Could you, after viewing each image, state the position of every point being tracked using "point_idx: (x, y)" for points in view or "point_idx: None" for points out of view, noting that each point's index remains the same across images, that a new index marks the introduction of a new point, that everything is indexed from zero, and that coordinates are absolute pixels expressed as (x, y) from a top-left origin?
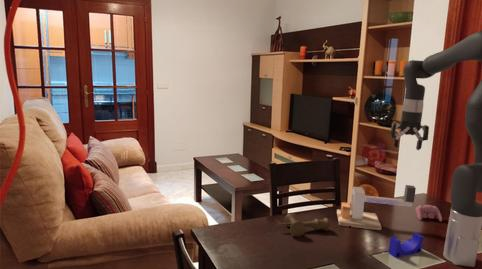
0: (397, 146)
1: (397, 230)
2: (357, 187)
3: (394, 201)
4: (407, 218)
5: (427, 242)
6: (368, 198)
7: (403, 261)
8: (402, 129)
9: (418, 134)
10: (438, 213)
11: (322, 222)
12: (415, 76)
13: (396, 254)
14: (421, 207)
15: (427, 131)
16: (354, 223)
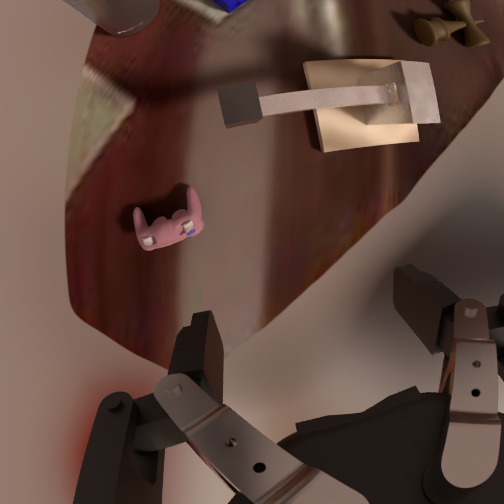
0: (407, 270)
1: (259, 81)
2: (427, 117)
3: (290, 92)
4: (227, 184)
5: (185, 48)
6: (378, 86)
7: None
8: (499, 415)
9: (220, 439)
10: (140, 223)
11: (434, 22)
12: None
13: None
14: (186, 218)
15: (88, 492)
16: (372, 59)
